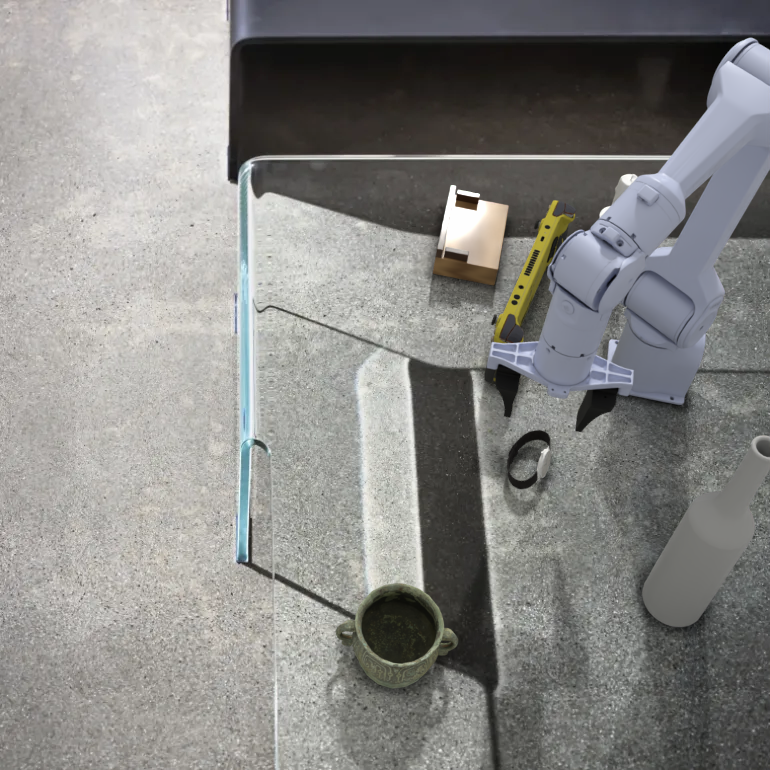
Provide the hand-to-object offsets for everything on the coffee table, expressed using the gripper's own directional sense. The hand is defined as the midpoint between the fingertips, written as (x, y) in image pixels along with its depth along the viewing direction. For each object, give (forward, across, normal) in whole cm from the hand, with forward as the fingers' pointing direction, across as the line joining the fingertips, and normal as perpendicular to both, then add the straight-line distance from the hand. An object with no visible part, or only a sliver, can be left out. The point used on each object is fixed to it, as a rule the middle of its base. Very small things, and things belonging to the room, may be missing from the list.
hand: (543, 417), depth 123 cm
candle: (+10, +7, +38) cm, 40 cm away
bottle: (+10, +17, -13) cm, 23 cm away
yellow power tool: (+10, -3, +22) cm, 24 cm away
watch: (+10, 0, 0) cm, 10 cm away
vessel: (+10, -11, -26) cm, 29 cm away
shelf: (+9, -11, +32) cm, 36 cm away
